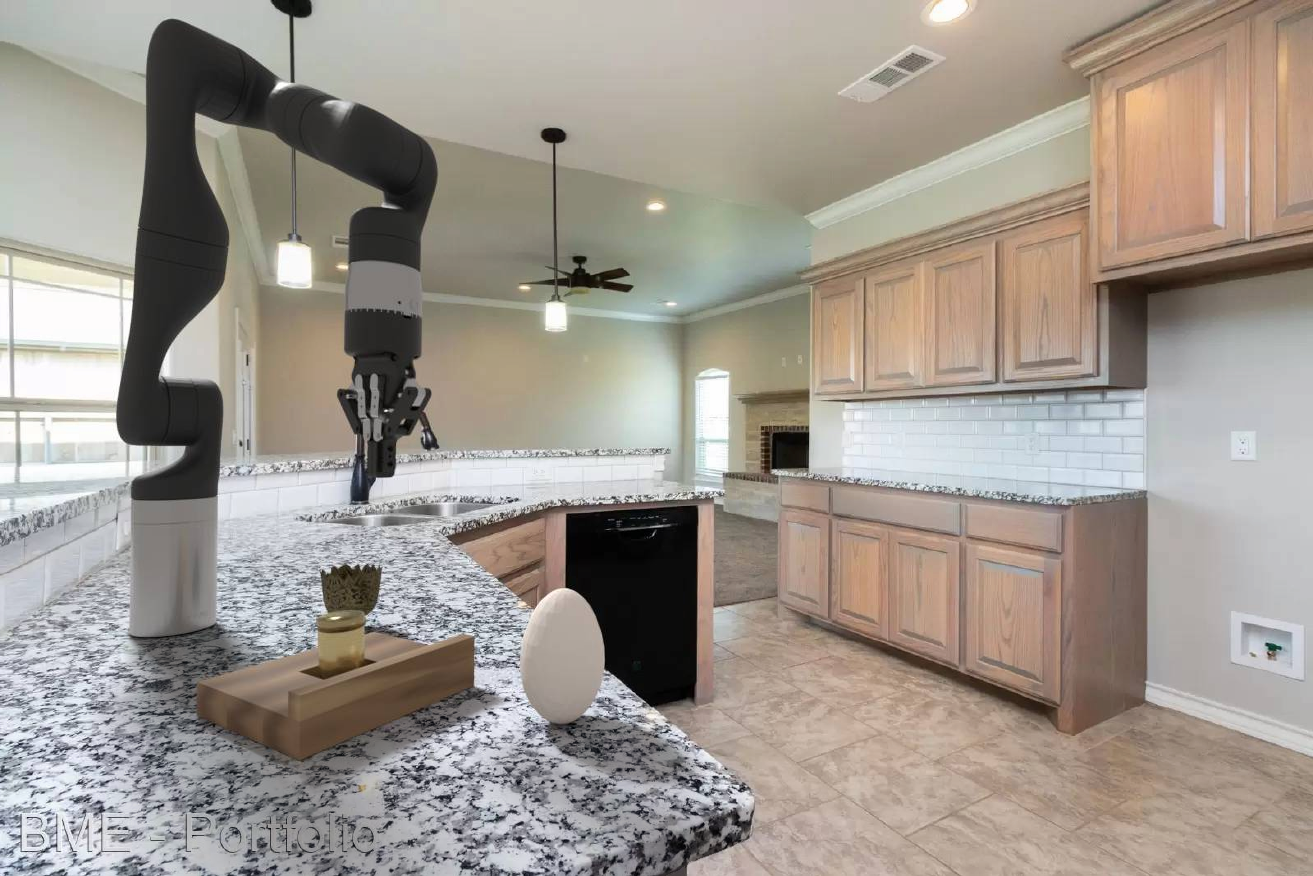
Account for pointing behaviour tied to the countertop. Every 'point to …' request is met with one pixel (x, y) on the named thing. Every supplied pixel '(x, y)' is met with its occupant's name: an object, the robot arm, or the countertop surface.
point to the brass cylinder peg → (340, 642)
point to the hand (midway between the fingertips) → (381, 477)
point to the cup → (351, 588)
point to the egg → (562, 657)
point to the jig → (335, 693)
